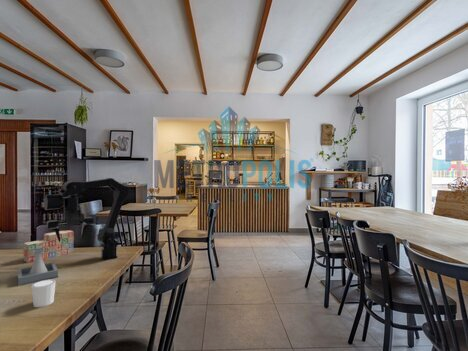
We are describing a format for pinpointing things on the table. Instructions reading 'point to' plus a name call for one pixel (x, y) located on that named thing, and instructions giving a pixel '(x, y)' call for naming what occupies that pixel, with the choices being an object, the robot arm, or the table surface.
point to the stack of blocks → (50, 246)
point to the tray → (26, 278)
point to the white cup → (43, 292)
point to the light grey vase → (38, 264)
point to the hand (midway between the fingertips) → (71, 240)
